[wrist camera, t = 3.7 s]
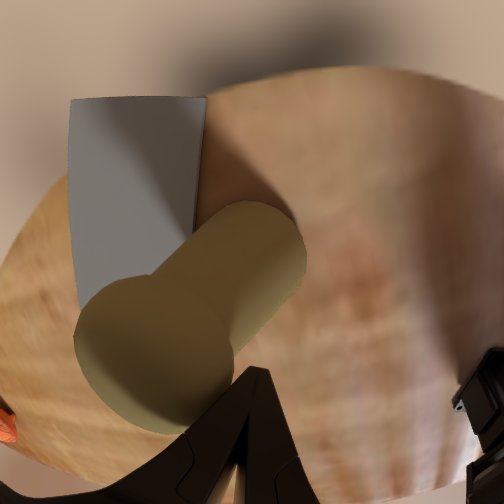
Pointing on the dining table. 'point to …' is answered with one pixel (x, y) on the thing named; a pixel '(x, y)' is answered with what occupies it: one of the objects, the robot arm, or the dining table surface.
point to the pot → (7, 427)
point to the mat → (131, 184)
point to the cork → (189, 317)
